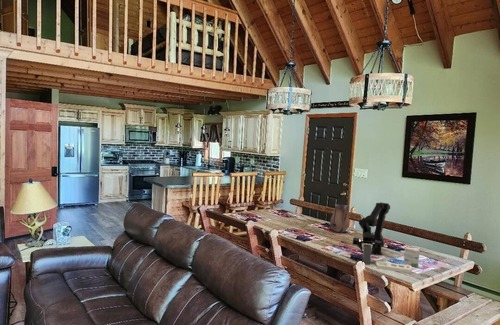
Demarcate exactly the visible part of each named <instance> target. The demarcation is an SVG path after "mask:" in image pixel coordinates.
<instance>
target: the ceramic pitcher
mask: <svg viewBox="0 0 500 325" xmlns="http://www.w3.org/2000/svg"><path fill="white" fill-rule="evenodd" d="M334 206H335V207H334V211H333V213H332V215H331V217H330V222H329V226H330V228H331V229H332V230H333V232H337V233H344V232H347V230H348V229H349V227H350V218H349V214H348V208H349V205H346V204H340V203H337V204H334Z"/></svg>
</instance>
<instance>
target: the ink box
mask: <svg viewBox="0 0 500 325" xmlns="http://www.w3.org/2000/svg"><path fill="white" fill-rule="evenodd" d="M403 254H404V256H403V264H405V265H409V266H410V267H413V268H416V269H417V268H418V267H419V260H420V249H417V248H412V247H409V246H406V247H405V248H404V253H403Z"/></svg>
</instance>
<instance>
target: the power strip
mask: <svg viewBox="0 0 500 325" xmlns="http://www.w3.org/2000/svg"><path fill="white" fill-rule="evenodd" d="M374 264H375V267H376V269H380V270H387V271H394V272H401V273H406V274H407V273H408V274H413V273H412V272H413V271H412V268H411V265H409V264H401V263H394V262H386V261H379V260H375V262H374Z"/></svg>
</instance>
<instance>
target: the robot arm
mask: <svg viewBox="0 0 500 325" xmlns="http://www.w3.org/2000/svg"><path fill="white" fill-rule="evenodd" d="M390 209H391V205H390V204H389V203H387V202H376V203H375V206H374V207H373V209H372V211H371V213H370V214H369V215H367V216H366V217H363V218H361V219H360V220H359V221H358V224H359V227H360V228H361V229H362V239H360V237H355V236H354V237H352V245H354V246H357V247H358V248H359V250H360V253H361V254H363V244H364V245H372V246H371V255H381V256H382V255H383V252H382V248H384V247H385V242H384V240H383V239H384V236H383V235H382V233H383V227H384V223H385V218H386V216H387V214H388V213H389V212H390ZM374 227H375V230H374V232H373V231H372V228H374Z"/></svg>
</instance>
